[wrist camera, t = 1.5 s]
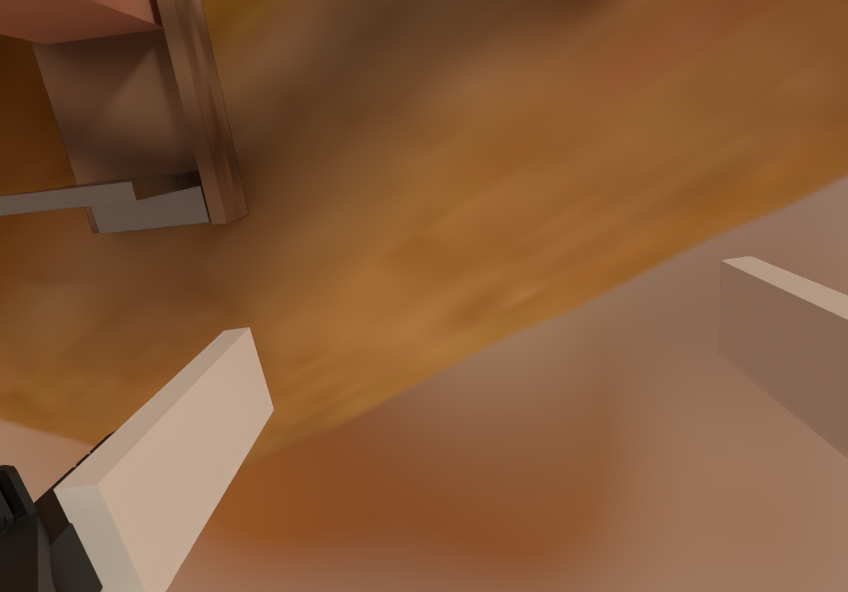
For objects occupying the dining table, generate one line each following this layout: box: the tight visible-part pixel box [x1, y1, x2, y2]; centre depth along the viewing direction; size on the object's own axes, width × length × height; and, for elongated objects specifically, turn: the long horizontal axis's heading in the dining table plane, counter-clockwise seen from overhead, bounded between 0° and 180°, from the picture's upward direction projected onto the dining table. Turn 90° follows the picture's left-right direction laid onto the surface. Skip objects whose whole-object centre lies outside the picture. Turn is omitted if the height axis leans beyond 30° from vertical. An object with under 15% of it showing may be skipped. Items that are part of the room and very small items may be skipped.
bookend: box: [0, 170, 211, 234], centre depth 31 cm, size 4×8×8 cm, turn 96°
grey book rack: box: [30, 0, 249, 233], centre depth 27 cm, size 25×11×13 cm, turn 6°
